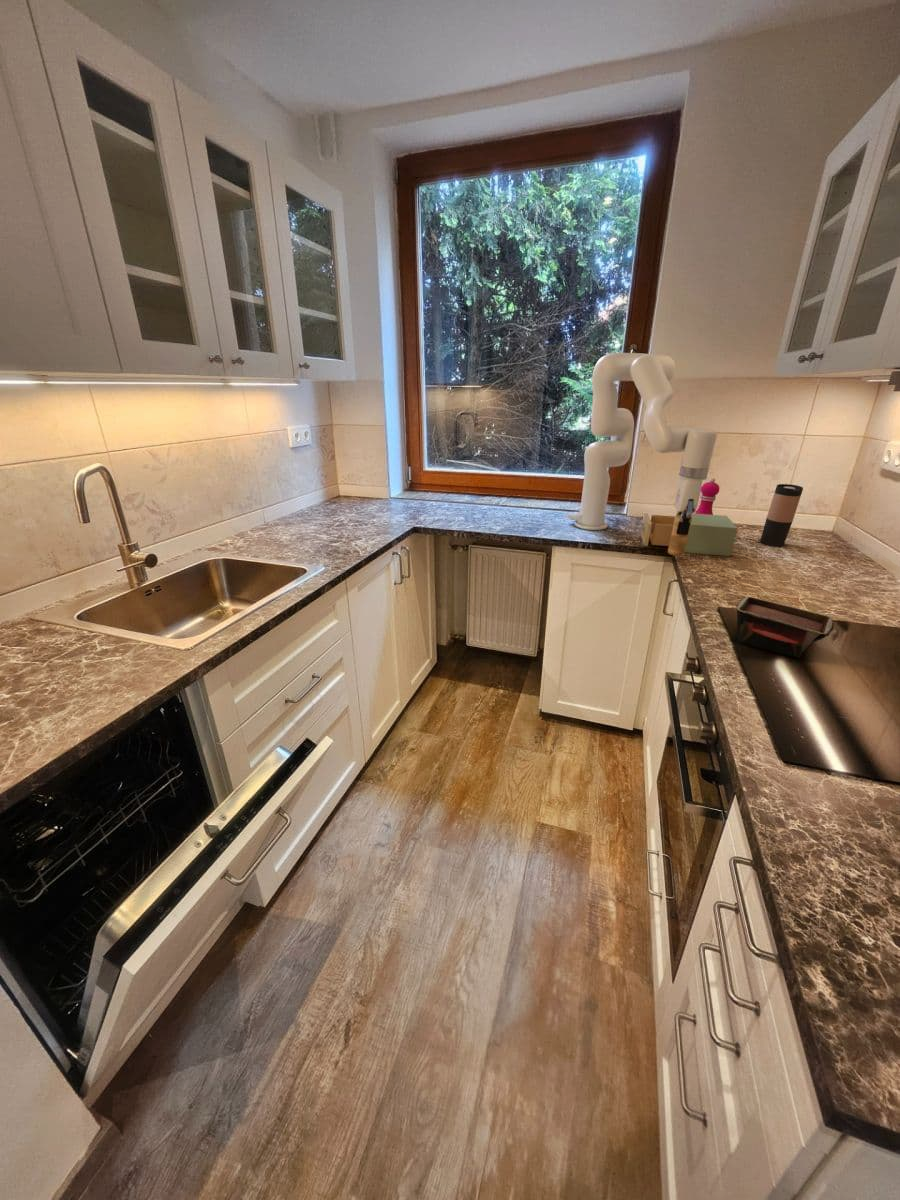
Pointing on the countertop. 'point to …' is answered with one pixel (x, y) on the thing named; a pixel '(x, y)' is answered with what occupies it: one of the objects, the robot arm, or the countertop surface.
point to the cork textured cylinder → (677, 539)
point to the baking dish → (779, 626)
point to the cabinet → (711, 535)
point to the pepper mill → (708, 497)
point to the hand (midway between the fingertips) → (680, 531)
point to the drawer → (655, 529)
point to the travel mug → (781, 514)
